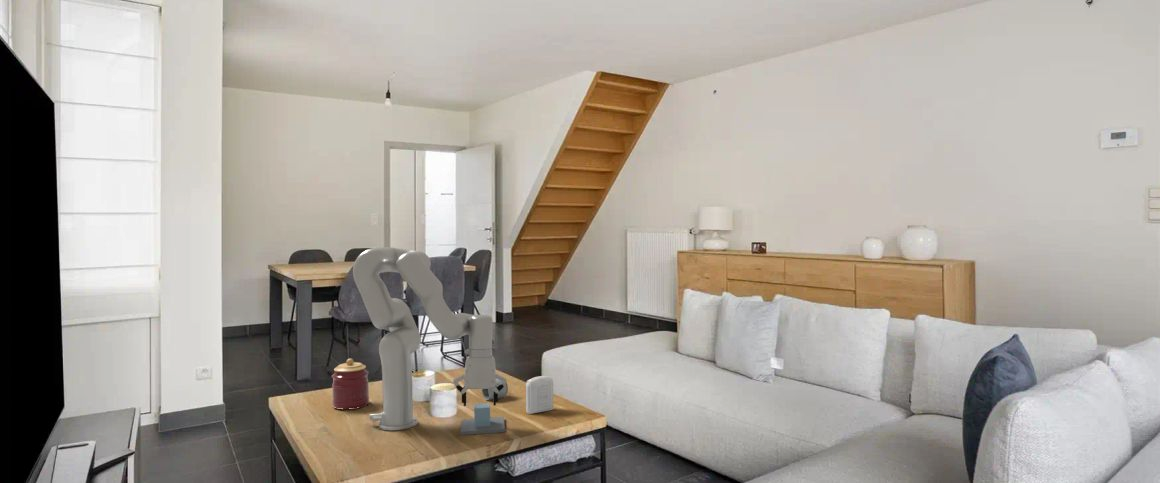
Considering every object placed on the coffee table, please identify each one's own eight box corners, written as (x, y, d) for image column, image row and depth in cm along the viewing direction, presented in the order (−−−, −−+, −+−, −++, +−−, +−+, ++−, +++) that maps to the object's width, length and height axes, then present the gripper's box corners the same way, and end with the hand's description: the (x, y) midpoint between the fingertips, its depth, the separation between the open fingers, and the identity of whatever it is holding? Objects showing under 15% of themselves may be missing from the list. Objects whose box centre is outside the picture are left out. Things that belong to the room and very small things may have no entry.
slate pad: (460, 434, 198) (460, 431, 198) (462, 422, 211) (461, 419, 211) (504, 432, 200) (504, 428, 200) (503, 419, 213) (503, 416, 213)
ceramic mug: (509, 398, 239) (508, 378, 239) (489, 402, 235) (489, 381, 235) (497, 393, 248) (496, 374, 248) (478, 396, 244) (477, 377, 243)
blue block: (474, 426, 203) (474, 408, 203) (475, 422, 208) (474, 404, 208) (490, 425, 203) (489, 407, 203) (490, 421, 208) (489, 403, 208)
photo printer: (549, 407, 227) (548, 373, 227) (555, 410, 223) (554, 375, 223) (524, 412, 221) (523, 377, 221) (530, 415, 218) (529, 379, 217)
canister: (373, 406, 232) (372, 359, 232) (337, 412, 225) (335, 364, 225) (364, 398, 243) (362, 353, 243) (328, 404, 236) (327, 358, 235)
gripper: (453, 355, 200) (452, 408, 201) (507, 355, 203) (506, 407, 203) (454, 350, 207) (453, 402, 208) (506, 350, 210) (505, 400, 211)
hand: (479, 404), depth 206 cm, fingers open, 9 cm apart
